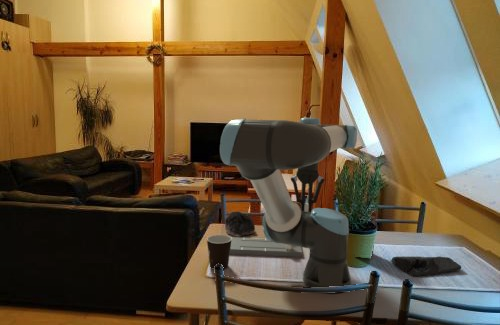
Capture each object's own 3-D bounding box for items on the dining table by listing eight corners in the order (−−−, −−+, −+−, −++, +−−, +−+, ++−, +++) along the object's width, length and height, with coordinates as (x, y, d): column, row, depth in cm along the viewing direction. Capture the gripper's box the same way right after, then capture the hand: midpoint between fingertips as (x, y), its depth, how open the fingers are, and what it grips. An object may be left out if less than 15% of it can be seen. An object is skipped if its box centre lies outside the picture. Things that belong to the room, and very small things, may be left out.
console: (302, 257, 132) (302, 252, 132) (228, 254, 133) (228, 249, 133) (298, 244, 145) (299, 239, 145) (232, 241, 147) (232, 236, 146)
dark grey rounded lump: (257, 238, 154) (259, 215, 154) (227, 237, 151) (229, 214, 150) (250, 230, 167) (252, 210, 167) (222, 229, 164) (224, 208, 163)
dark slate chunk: (468, 276, 120) (470, 263, 120) (409, 278, 117) (410, 265, 117) (439, 258, 135) (440, 246, 135) (386, 260, 132) (387, 248, 132)
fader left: (291, 249, 133) (291, 239, 133) (286, 249, 134) (286, 239, 133) (290, 246, 137) (291, 236, 136) (285, 246, 137) (286, 236, 136)
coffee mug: (227, 272, 118) (227, 244, 116) (203, 269, 119) (203, 242, 118) (235, 259, 129) (236, 233, 128) (213, 256, 131) (213, 231, 129)
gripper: (324, 158, 134) (321, 217, 137) (290, 157, 134) (288, 216, 138) (327, 161, 126) (324, 223, 129) (291, 160, 127) (289, 222, 130)
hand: (305, 220), depth 134 cm, fingers closed
